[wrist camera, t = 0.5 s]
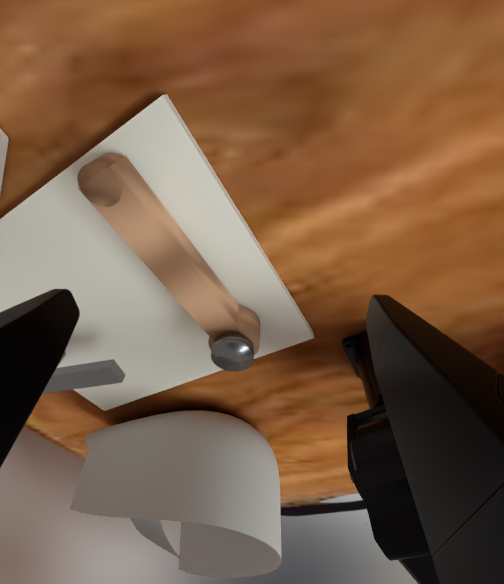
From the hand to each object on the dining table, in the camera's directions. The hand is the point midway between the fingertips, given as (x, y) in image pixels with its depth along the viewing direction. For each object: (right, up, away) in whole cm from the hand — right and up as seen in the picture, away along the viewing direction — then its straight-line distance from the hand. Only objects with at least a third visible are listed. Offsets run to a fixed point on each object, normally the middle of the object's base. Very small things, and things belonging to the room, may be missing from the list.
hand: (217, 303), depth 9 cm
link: (-4, +2, +13) cm, 14 cm away
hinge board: (-10, -1, +17) cm, 20 cm away
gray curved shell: (-5, -18, +31) cm, 36 cm away
